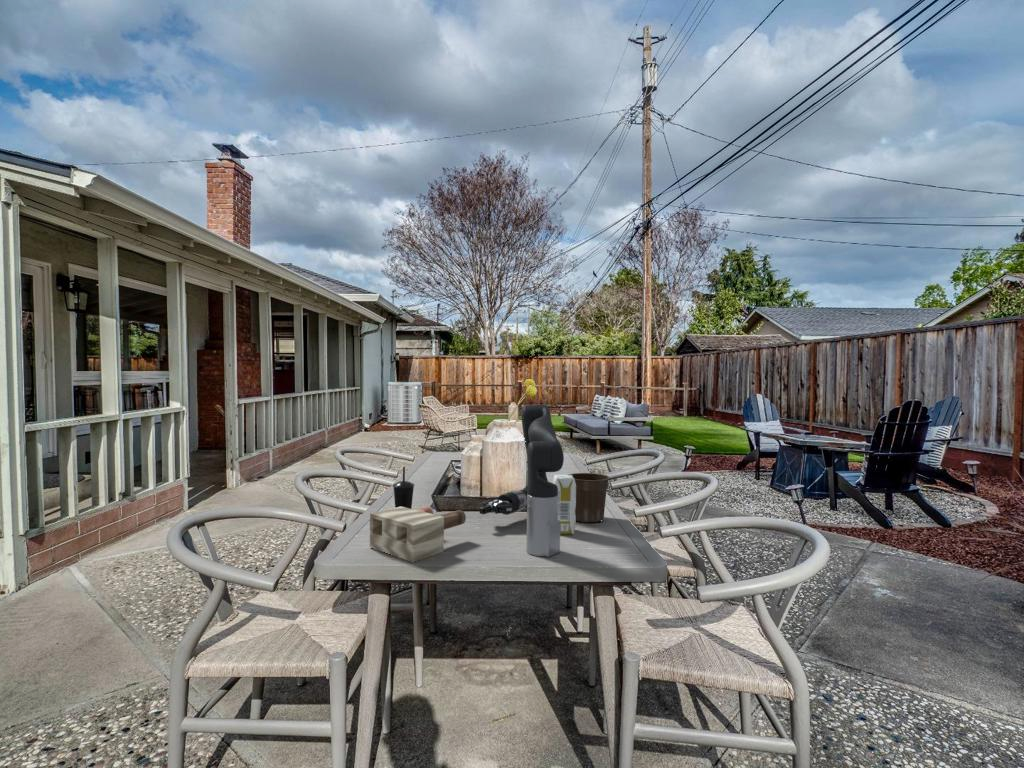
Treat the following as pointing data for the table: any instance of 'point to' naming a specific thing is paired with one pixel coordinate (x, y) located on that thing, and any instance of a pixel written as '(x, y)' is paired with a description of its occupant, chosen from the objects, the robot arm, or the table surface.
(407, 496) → the drinking cup
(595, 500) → the plant pot
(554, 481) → the juice carton
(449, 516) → the walnut plug
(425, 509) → the terracotta plug
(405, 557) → the socket block
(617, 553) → the table surface
